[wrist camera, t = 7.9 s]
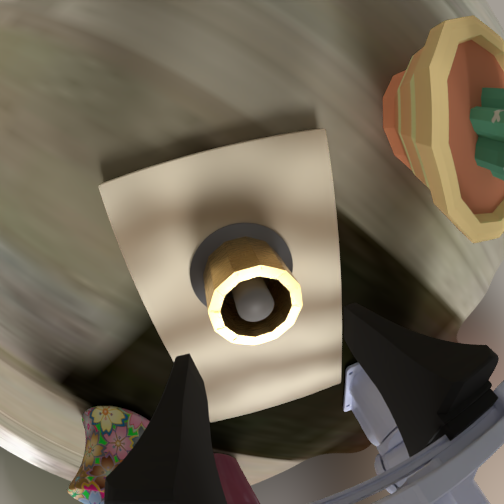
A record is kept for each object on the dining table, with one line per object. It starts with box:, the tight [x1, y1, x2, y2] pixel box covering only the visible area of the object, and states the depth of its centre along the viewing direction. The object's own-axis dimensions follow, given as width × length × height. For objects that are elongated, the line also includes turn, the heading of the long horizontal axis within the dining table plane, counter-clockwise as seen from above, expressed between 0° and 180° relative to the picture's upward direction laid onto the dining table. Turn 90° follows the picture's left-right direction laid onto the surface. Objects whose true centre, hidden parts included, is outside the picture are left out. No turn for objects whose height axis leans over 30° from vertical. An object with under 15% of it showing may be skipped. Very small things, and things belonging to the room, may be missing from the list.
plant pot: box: [213, 453, 260, 504], centre depth 26 cm, size 14×14×13 cm
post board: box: [98, 129, 342, 422], centre depth 19 cm, size 24×14×5 cm, turn 11°
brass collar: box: [203, 236, 303, 345], centre depth 17 cm, size 5×5×4 cm
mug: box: [67, 406, 150, 504], centre depth 20 cm, size 12×9×11 cm
